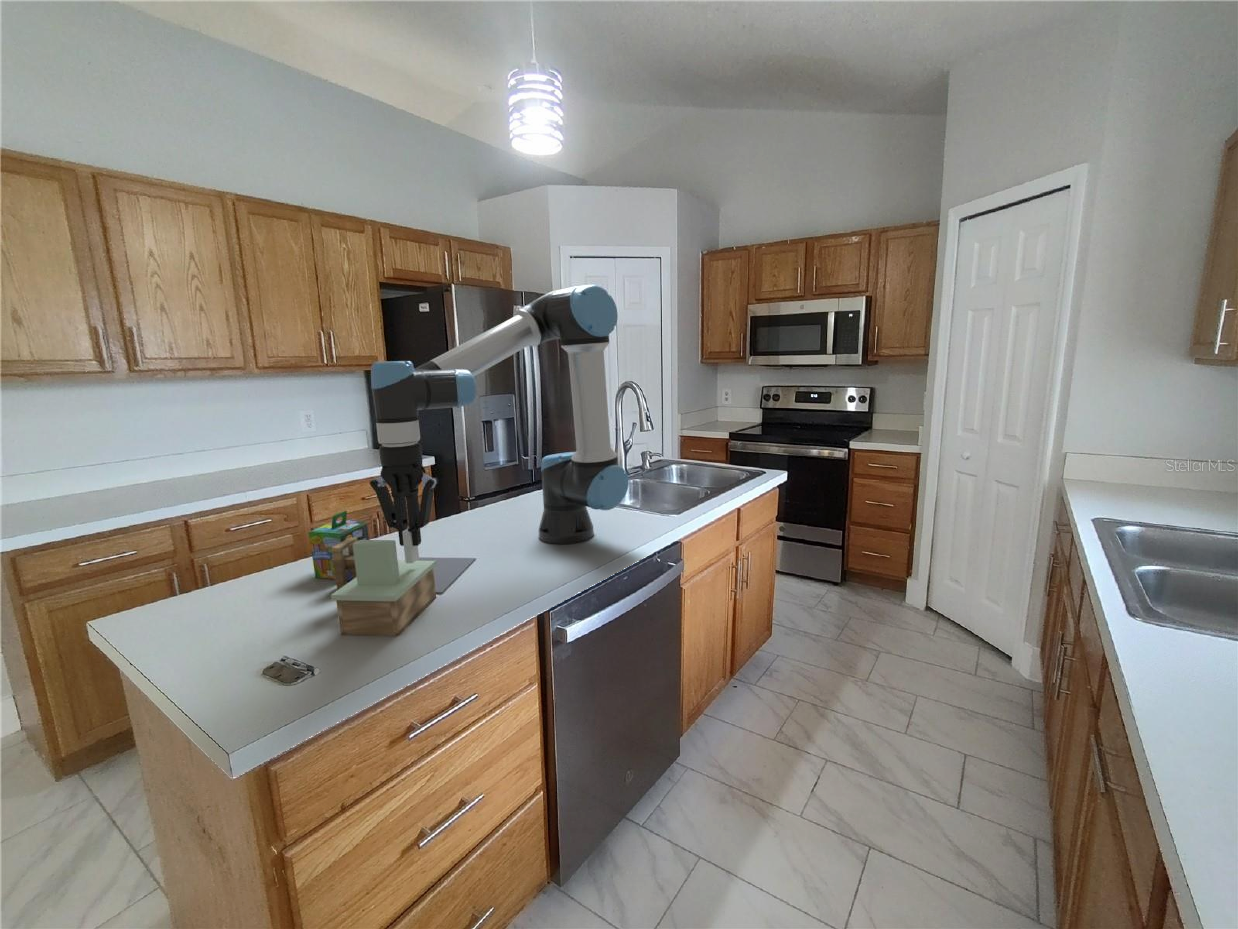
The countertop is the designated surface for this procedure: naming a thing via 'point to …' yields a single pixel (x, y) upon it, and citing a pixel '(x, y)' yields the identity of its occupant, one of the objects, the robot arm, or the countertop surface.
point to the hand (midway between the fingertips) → (412, 560)
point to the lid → (381, 573)
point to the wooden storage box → (379, 603)
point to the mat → (447, 571)
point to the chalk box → (333, 542)
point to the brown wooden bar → (347, 561)
